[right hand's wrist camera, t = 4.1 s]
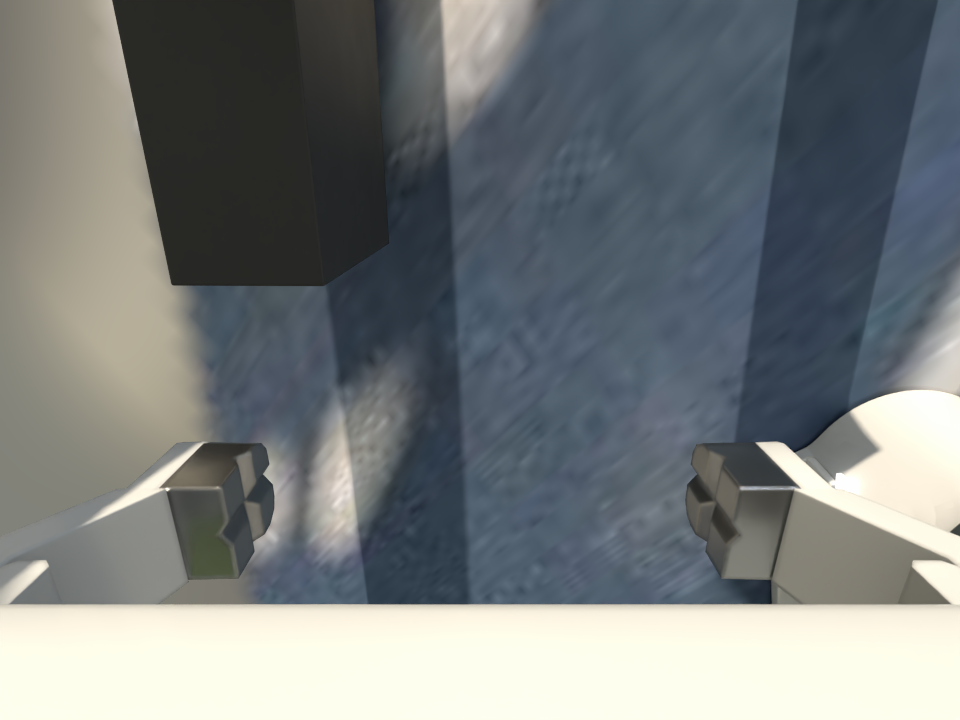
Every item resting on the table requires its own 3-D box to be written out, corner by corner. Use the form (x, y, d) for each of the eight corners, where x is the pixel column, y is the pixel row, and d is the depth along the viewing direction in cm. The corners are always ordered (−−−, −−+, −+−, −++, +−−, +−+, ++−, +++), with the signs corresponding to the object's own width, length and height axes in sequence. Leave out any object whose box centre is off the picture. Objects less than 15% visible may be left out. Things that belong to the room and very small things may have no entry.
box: (389, 243, 31) (324, 286, 20) (291, 243, 31) (171, 285, 20) (360, -214, 24) (233, -560, 12) (234, -210, 24) (-4, -548, 13)
